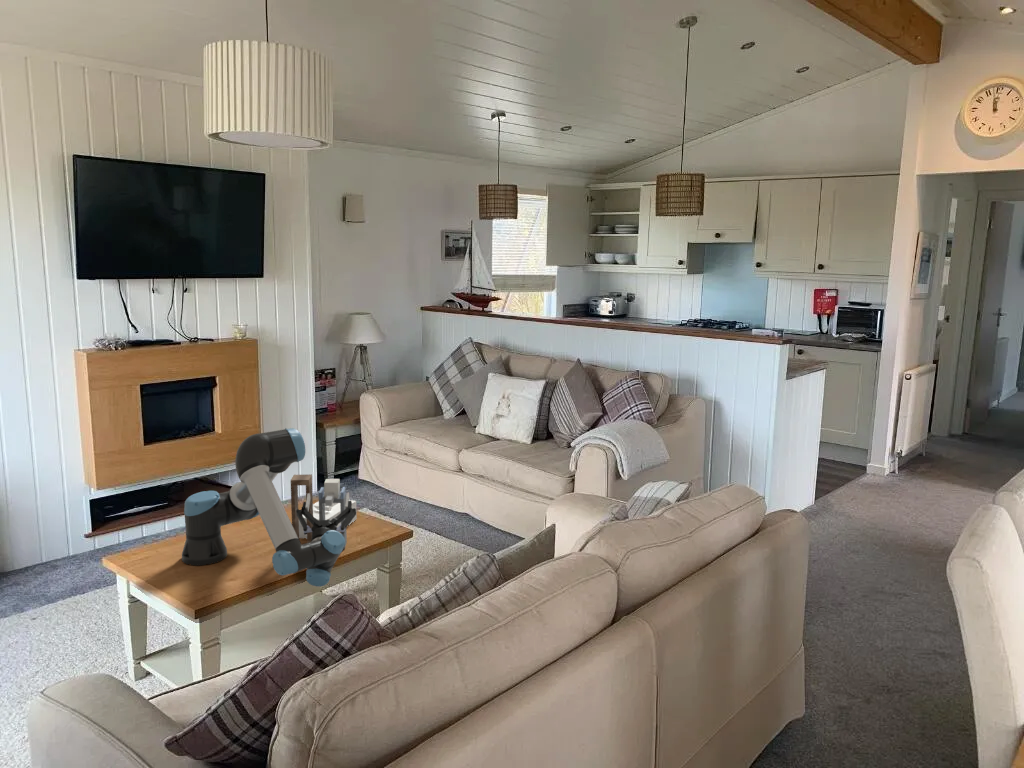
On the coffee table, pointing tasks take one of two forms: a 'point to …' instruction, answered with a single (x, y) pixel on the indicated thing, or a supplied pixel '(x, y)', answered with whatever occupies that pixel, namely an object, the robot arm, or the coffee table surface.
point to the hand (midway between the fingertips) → (328, 495)
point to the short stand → (336, 500)
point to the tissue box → (326, 514)
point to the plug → (331, 490)
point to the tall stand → (295, 482)
